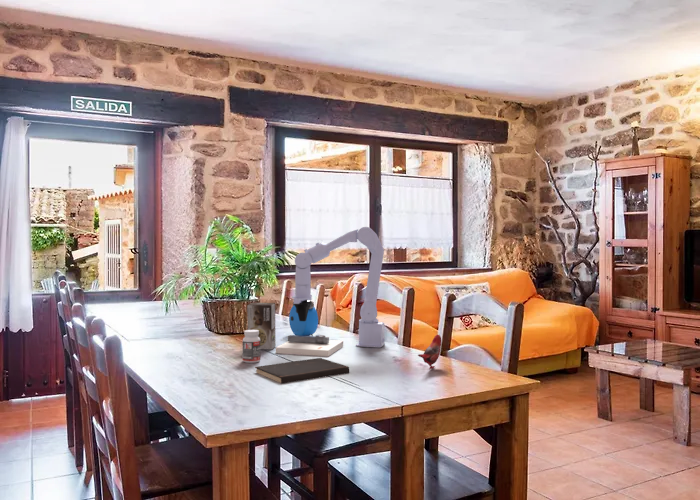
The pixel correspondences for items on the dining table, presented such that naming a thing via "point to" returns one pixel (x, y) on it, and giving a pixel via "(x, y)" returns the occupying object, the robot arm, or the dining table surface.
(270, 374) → the hardcover book
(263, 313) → the coffee box
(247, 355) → the pill bottle
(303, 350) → the cover plate
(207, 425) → the dining table surface
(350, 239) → the robot arm
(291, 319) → the alarm clock
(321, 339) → the latch handle
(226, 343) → the dining table surface
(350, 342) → the dining table surface
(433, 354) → the decorative bird figurine
